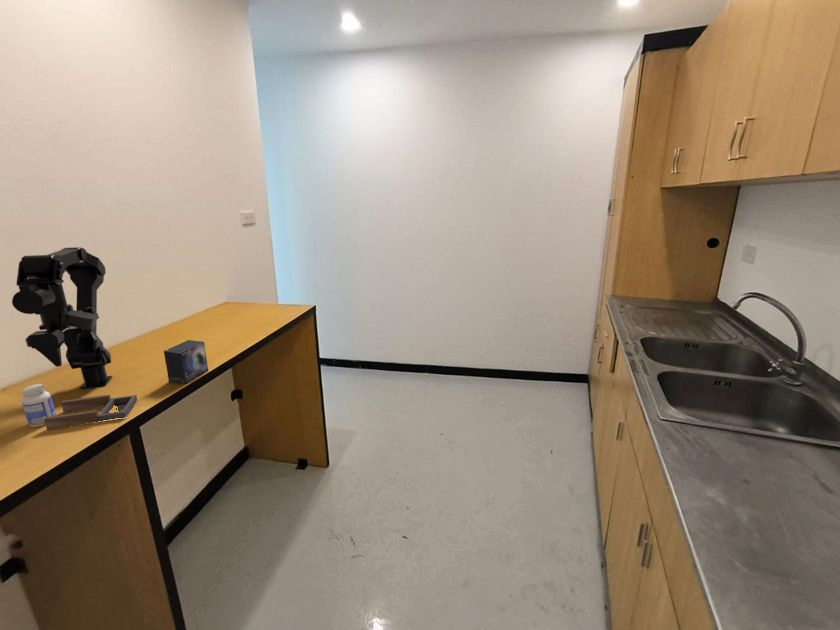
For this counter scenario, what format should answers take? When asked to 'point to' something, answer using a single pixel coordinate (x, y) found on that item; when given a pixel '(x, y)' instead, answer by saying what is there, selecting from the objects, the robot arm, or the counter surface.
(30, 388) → the pill bottle
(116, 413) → the dark shallow tray
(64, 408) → the walnut channel
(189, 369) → the small box
